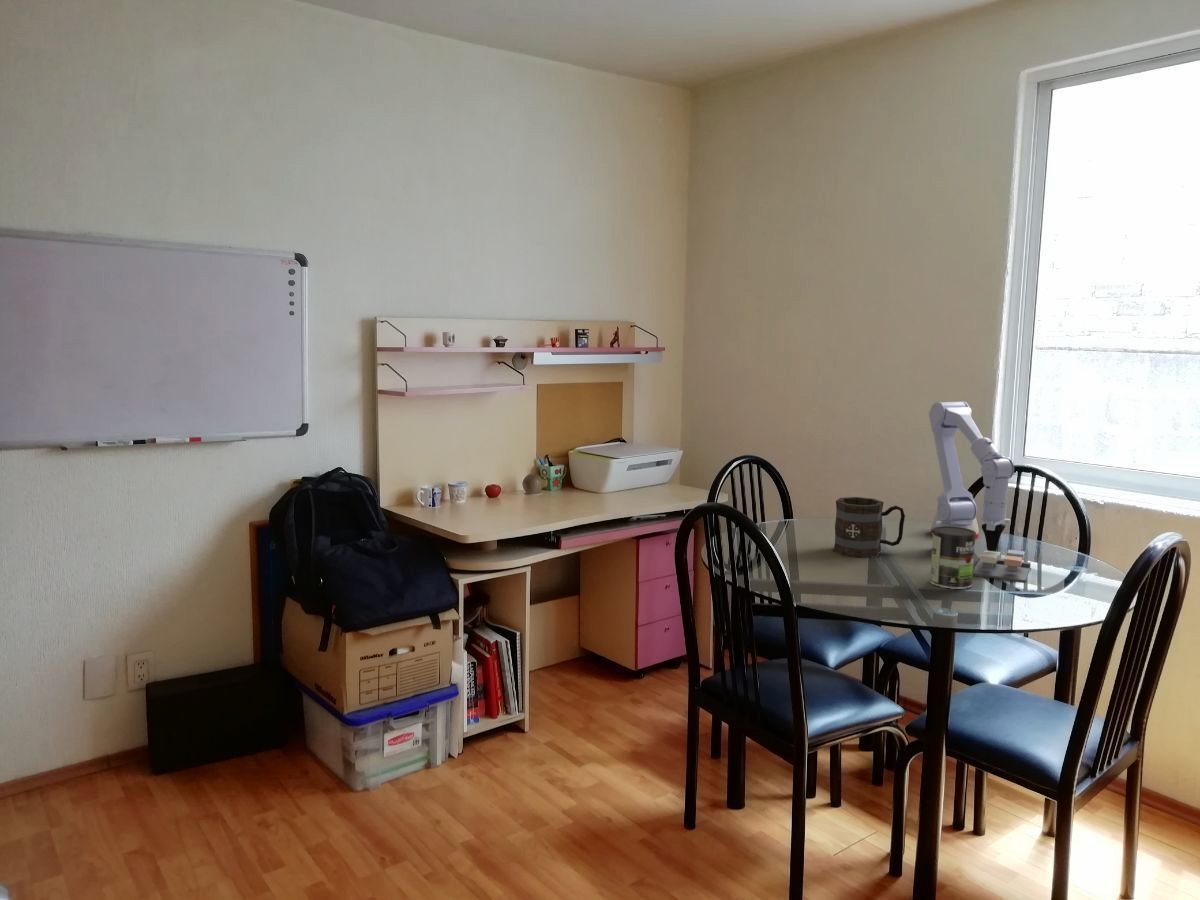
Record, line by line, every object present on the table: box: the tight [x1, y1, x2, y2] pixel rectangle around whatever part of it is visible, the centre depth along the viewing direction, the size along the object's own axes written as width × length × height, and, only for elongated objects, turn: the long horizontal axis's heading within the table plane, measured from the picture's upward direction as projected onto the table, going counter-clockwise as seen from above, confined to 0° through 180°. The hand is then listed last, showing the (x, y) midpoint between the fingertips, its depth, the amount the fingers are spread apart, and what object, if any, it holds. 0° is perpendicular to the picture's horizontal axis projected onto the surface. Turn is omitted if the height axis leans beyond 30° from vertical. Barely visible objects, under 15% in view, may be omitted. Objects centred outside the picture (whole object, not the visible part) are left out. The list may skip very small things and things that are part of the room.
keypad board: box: [973, 555, 1031, 583], centre depth 243 cm, size 13×15×2 cm
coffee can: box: [929, 526, 976, 590], centre depth 231 cm, size 10×10×14 cm
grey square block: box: [1006, 549, 1026, 562], centre depth 244 cm, size 4×4×3 cm
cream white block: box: [983, 549, 1001, 566], centre depth 248 cm, size 4×4×3 cm
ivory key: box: [978, 552, 998, 568], centre depth 241 cm, size 4×4×3 cm
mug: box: [833, 496, 906, 559], centre depth 262 cm, size 20×14×15 cm
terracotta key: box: [1003, 554, 1023, 572], centre depth 238 cm, size 4×4×3 cm
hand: (991, 550), depth 247 cm, fingers closed
